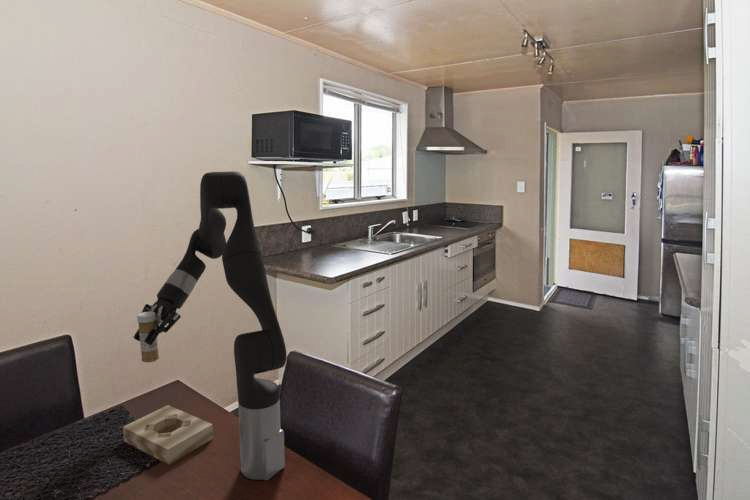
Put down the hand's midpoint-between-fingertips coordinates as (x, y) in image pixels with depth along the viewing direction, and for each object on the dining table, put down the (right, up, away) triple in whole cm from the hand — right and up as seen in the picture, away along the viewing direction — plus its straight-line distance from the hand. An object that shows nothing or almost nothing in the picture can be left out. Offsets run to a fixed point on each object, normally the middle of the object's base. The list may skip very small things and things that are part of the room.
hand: (142, 341), depth 131 cm
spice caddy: (+11, -24, -8) cm, 27 cm away
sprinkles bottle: (+1, -6, +3) cm, 7 cm away
